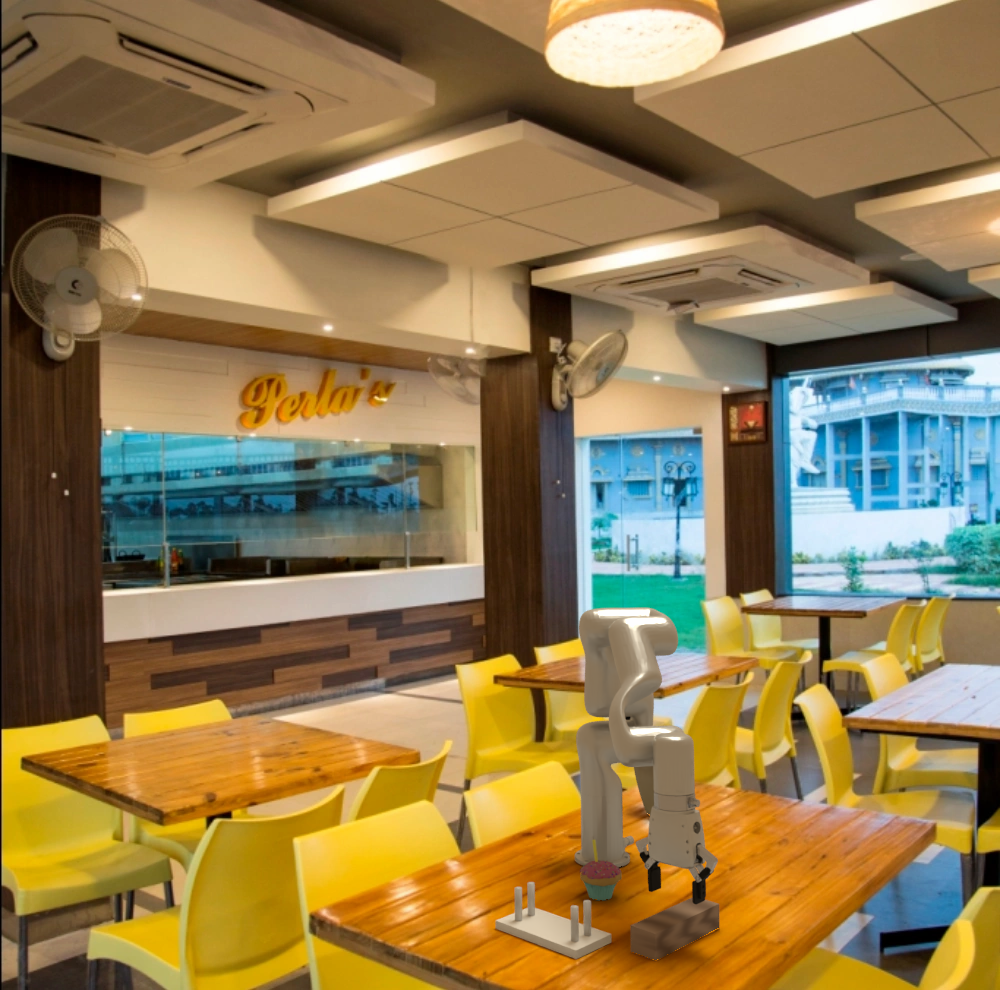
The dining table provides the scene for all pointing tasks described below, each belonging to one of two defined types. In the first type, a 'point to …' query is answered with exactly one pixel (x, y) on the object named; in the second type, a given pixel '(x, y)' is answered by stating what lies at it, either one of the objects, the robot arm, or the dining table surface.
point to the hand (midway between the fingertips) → (676, 896)
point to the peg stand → (553, 927)
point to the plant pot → (645, 786)
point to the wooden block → (673, 928)
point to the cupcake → (600, 877)
